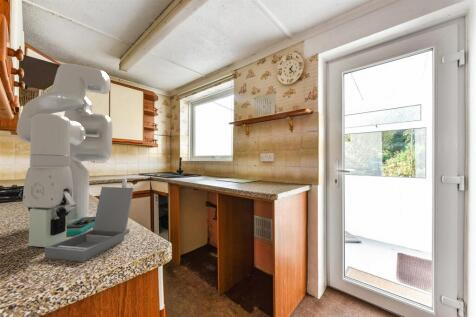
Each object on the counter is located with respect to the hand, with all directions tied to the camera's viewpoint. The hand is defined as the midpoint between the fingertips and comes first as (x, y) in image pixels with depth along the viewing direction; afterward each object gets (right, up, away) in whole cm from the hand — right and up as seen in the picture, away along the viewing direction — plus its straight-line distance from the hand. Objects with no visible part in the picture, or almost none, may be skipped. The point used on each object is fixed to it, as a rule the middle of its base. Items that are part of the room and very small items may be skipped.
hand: (48, 232), depth 51 cm
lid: (+13, +5, +5) cm, 15 cm away
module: (0, -3, 0) cm, 3 cm away
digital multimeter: (-2, -5, +12) cm, 13 cm away
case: (+12, -4, -2) cm, 13 cm away
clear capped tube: (+15, -4, +8) cm, 17 cm away
